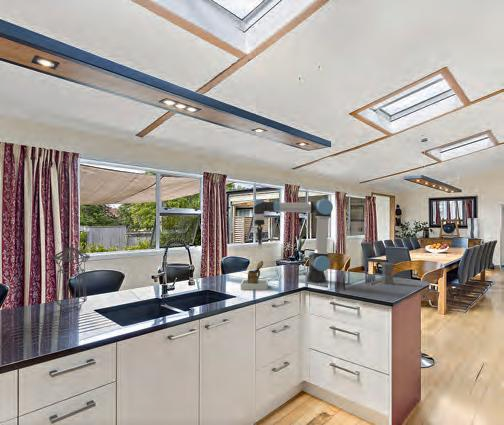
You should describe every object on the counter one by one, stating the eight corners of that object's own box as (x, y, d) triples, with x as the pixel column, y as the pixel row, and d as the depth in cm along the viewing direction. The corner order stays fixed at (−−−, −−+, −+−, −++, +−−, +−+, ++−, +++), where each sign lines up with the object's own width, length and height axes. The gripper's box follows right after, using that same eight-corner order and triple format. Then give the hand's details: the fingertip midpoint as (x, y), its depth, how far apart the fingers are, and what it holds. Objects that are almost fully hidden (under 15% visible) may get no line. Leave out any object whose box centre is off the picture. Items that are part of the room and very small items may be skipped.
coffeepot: (398, 283, 244) (398, 260, 245) (393, 285, 238) (393, 261, 238) (378, 280, 255) (378, 258, 256) (373, 282, 249) (373, 259, 249)
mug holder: (267, 285, 240) (267, 280, 240) (267, 289, 226) (267, 284, 226) (242, 285, 241) (242, 280, 242) (240, 289, 227) (240, 283, 228)
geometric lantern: (79, 304, 190) (79, 245, 191) (91, 309, 180) (91, 246, 181) (49, 310, 178) (50, 247, 179) (60, 315, 168) (61, 248, 169)
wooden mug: (266, 286, 234) (266, 261, 235) (250, 288, 227) (250, 262, 228) (259, 284, 242) (259, 260, 242) (244, 286, 235) (244, 261, 235)
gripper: (254, 219, 256) (255, 246, 256) (253, 219, 231) (254, 249, 231) (264, 219, 256) (265, 246, 255) (264, 219, 231) (265, 249, 230)
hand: (260, 247), depth 243 cm, fingers open, 13 cm apart
